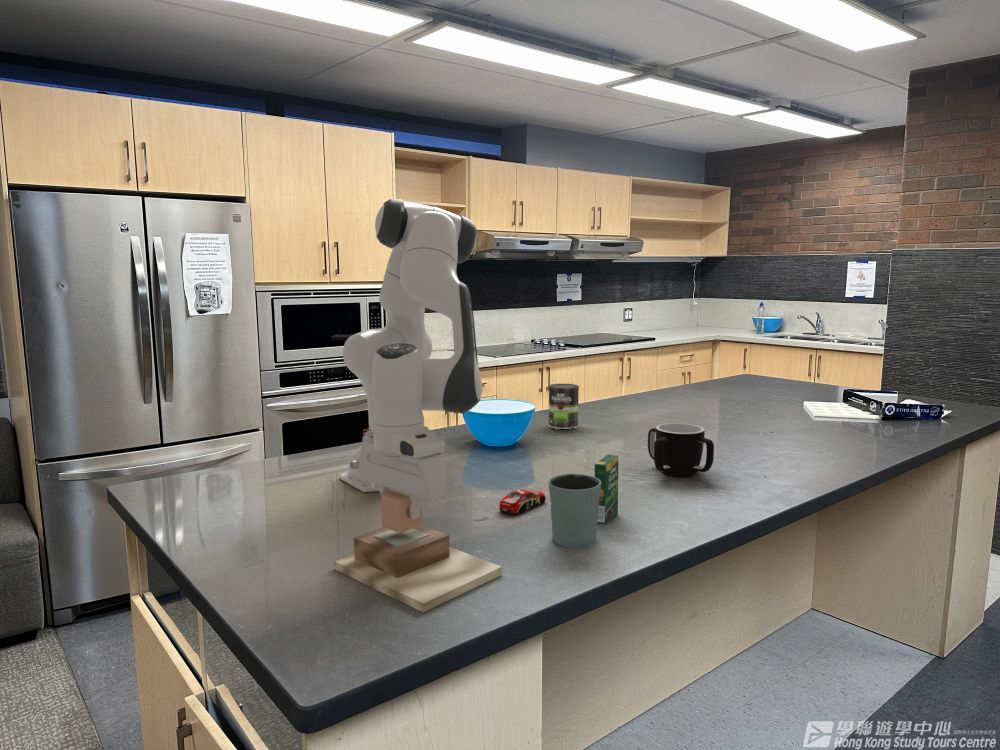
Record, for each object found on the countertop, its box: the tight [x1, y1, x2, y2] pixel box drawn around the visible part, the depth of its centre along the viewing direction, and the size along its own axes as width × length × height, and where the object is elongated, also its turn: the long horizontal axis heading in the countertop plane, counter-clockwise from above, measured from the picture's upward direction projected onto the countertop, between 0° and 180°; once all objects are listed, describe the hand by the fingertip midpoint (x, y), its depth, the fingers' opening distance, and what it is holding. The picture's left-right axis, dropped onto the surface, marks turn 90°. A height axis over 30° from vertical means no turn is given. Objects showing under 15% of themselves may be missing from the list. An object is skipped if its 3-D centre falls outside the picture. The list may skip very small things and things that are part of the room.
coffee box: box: [594, 454, 619, 526], centre depth 145 cm, size 8×3×13 cm, turn 151°
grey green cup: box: [548, 473, 601, 549], centre depth 134 cm, size 10×10×12 cm
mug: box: [647, 422, 715, 478], centre depth 179 cm, size 16×16×12 cm
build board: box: [333, 524, 503, 614], centre depth 121 cm, size 24×18×6 cm
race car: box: [498, 488, 546, 515], centre depth 154 cm, size 13×5×4 cm, turn 140°
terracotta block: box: [380, 490, 423, 533], centre depth 122 cm, size 5×5×6 cm
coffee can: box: [548, 383, 580, 430], centre depth 233 cm, size 10×10×14 cm
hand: (401, 513), depth 122 cm, fingers closed on terracotta block, 5 cm apart
